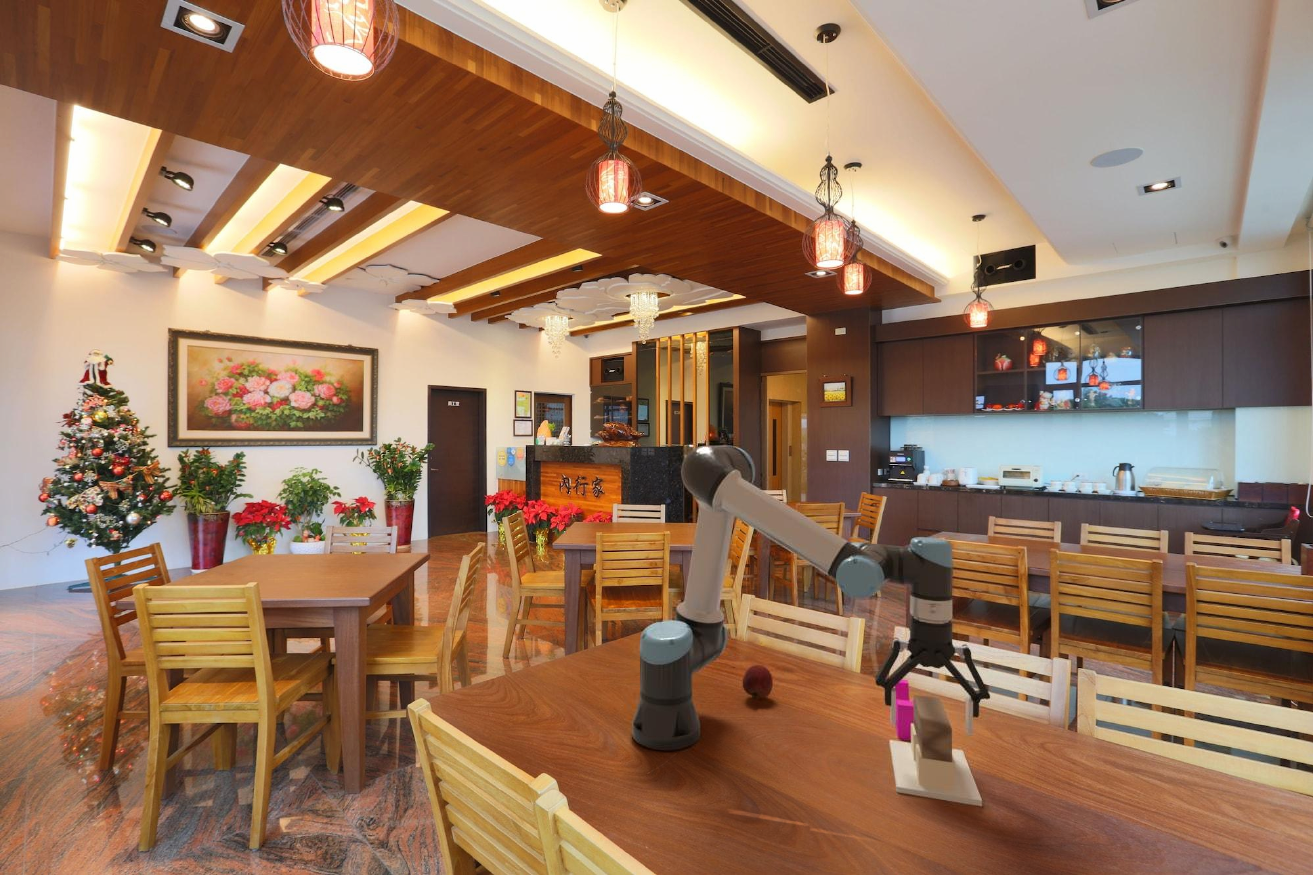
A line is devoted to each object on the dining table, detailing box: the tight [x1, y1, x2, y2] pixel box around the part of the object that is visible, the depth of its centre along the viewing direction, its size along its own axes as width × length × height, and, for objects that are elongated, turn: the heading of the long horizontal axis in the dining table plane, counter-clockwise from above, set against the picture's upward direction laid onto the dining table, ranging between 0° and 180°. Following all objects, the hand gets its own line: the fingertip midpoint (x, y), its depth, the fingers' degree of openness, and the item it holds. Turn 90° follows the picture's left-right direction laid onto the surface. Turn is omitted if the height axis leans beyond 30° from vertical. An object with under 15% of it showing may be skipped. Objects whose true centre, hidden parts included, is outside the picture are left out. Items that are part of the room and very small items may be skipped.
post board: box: [889, 723, 983, 807], centre depth 115 cm, size 14×18×6 cm
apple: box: [742, 664, 774, 699], centre depth 149 cm, size 7×8×8 cm
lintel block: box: [913, 694, 953, 762], centre depth 115 cm, size 5×14×6 cm, turn 162°
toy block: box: [894, 679, 914, 741], centre depth 135 cm, size 15×6×8 cm, turn 164°
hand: (930, 727), depth 115 cm, fingers open, 13 cm apart
